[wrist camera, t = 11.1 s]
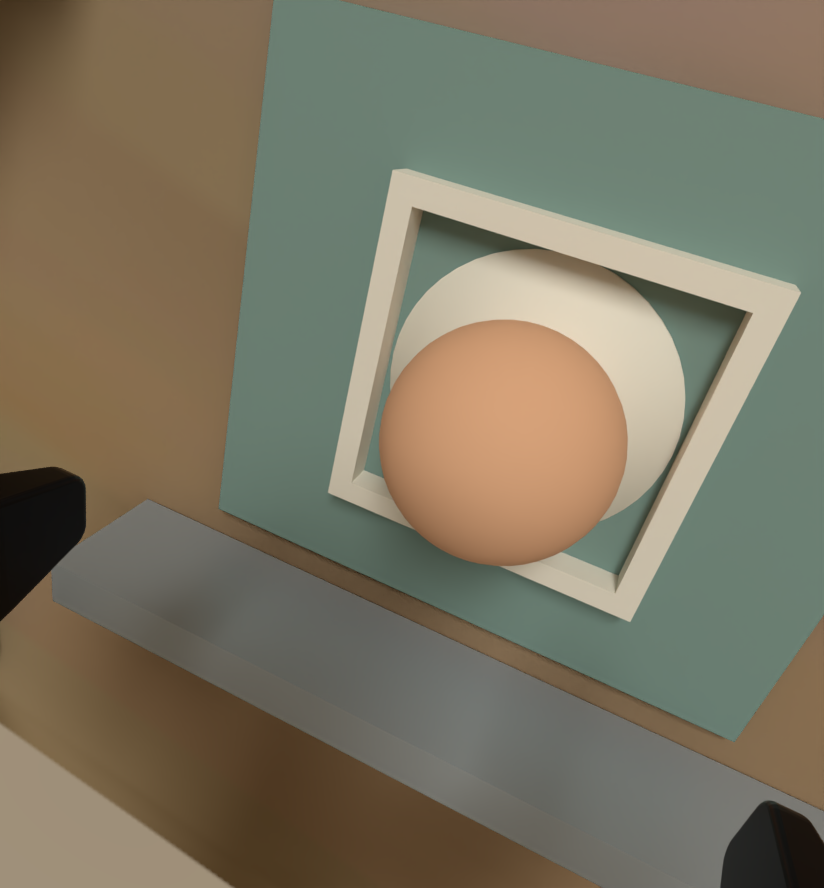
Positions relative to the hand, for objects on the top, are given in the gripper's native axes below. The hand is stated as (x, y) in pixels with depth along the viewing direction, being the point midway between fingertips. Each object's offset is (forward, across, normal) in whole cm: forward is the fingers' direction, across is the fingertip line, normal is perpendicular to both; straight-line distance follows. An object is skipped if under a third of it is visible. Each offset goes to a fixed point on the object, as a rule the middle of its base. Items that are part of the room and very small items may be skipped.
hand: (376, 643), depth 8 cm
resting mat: (+10, 0, 0) cm, 10 cm away
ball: (+7, 0, 0) cm, 7 cm away
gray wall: (+10, -1, +9) cm, 13 cm away
